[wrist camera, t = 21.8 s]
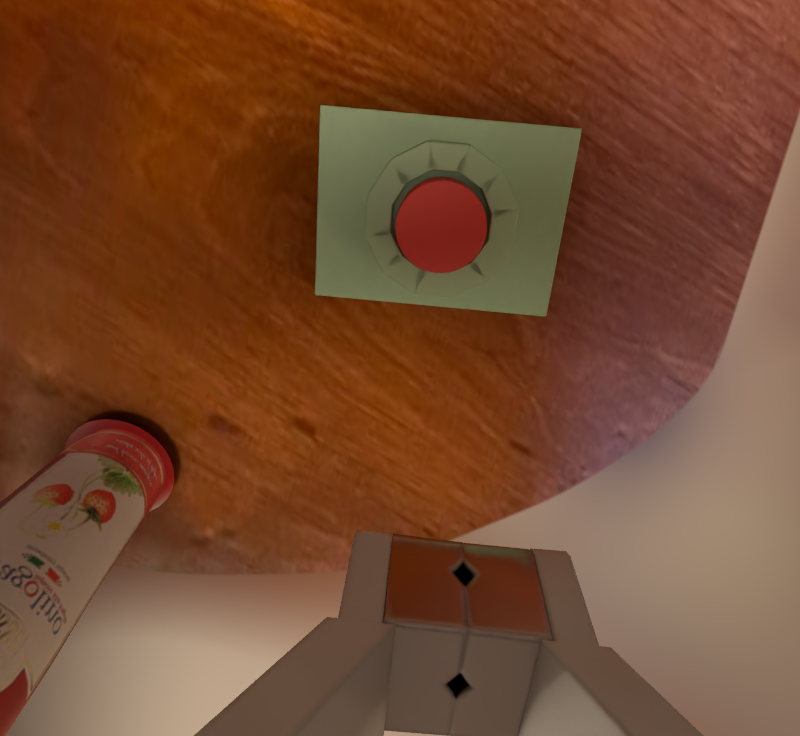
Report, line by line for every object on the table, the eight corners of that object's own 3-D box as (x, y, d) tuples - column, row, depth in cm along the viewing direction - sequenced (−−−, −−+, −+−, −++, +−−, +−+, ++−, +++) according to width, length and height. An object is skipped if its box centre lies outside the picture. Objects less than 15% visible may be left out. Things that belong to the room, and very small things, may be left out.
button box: (571, 128, 28) (592, 128, 25) (538, 304, 32) (553, 328, 28) (327, 105, 28) (312, 103, 25) (322, 284, 32) (308, 305, 28)
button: (489, 180, 26) (493, 184, 24) (477, 268, 28) (480, 277, 26) (401, 172, 26) (399, 175, 24) (394, 260, 28) (391, 268, 26)
